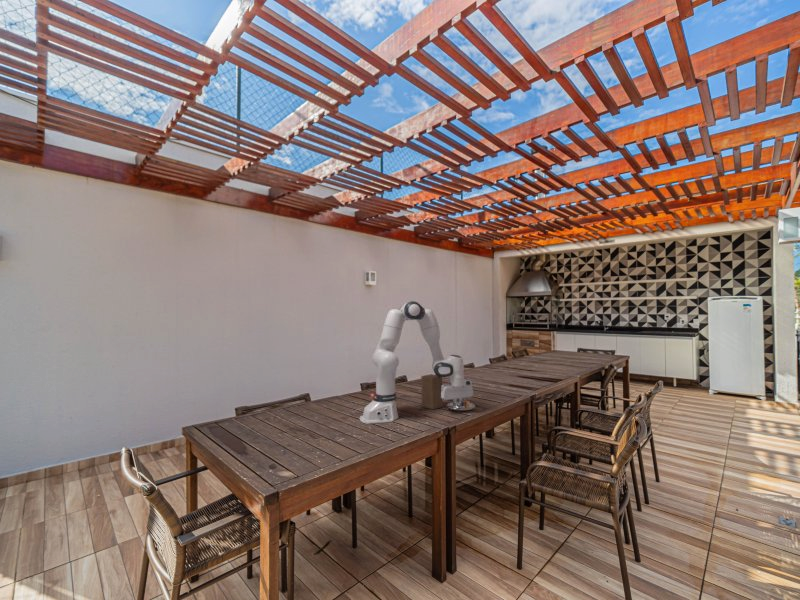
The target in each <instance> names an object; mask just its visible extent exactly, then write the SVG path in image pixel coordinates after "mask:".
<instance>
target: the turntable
mask: <svg viewBox="0 0 800 600" xmlns="http://www.w3.org/2000/svg"><path fill="white" fill-rule="evenodd" d="M446 408H447V409H450V410H453V411H471V410H473V409H475V408H476V405H475V403H472V402H470V401H469V400H466V401H465V406H455V405H453V401H452V402H448V403H447V405H446Z"/></svg>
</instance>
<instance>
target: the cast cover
mask: <svg viewBox="0 0 800 600" xmlns="http://www.w3.org/2000/svg"><path fill="white" fill-rule="evenodd" d="M458 400H459V399H458V398H457V399H456V402H458ZM465 401H467V397H464V398H462V400H461V402H460V406H465ZM452 402H453V405H455V403H454V401H453V400H452Z"/></svg>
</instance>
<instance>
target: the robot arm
mask: <svg viewBox="0 0 800 600" xmlns="http://www.w3.org/2000/svg"><path fill="white" fill-rule="evenodd" d="M384 320H385V321H384V322H383V327H382V331H381V335H380V339H379V341H378V343H377V346H376V348H375V351H374V352H373V354H372V357H371V359H372V362H373V364H374V366H376V367H377V368H378V370H377V371H378V372H377V377H376V379H375V388H376V389H375V390H376V391H375V394H374V393H371V394H370V397H371V398H372V401H370V403H368V404H367V405H366V406H365V407H364V409H363V413H362V415H360V416H359V421H360V422H362V423H364V424H366V425H367V424H369V425H370V424H381V423H392V422H394V421H395V420H397V419H399V418H400V417H399V414H398V410H397V392H396V374H397V369H398V366H399V365H400V360H399V357H398V355H397V354H395V352H394V351H395V349H396V348H397V346H398V344H399V342H400V338H401V336H402V330H403V328H404V327H403V325H404V323H405V321H416V322H417V323H418V325H419V329H420V332H421V335H422V336H423V337H422V338H423V340H424V341H425V342H426V343H427V345H428V347H429V349H430V353H431V356H432V371H433V372H434V375H436V376H438V377H442V378H447V377H448V378H449V379H448V382H447V383H442V386H441V398H442V399H443V400H444V401H448V400H452V402H453V401H454V403H455V406H460V402H461V400H462V398H464V397H465V398H471V397H473V395H474V389H473V385H472V384H473V382H472V381H471V380H468V379H466V378H465V376H464V371H465V368H464V367H465V366H464V359H463V357H461V356H460V355H458V354H450V355H449V356H447V357H446V358H444V355H443V352H442V349H441V344H440V338H441V330H440V327H439V323H438V320H437V317H436V315H435V313H434V311H433V310H432V309H430V308H424V307H423V306H422V305H421V304H420V303H419V302H417V301H415V300H411V301H406V302H405V303H404V304H402V305H401V306H400V307H399V309H398V308H397V309H396V308H392V309H389V311H388V312H387V315H386V317H385V319H384ZM457 398H458V399H459V400H458V402H456V399H457Z"/></svg>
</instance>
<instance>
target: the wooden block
mask: <svg viewBox="0 0 800 600" xmlns="http://www.w3.org/2000/svg"><path fill="white" fill-rule="evenodd" d="M420 383H421V385H420V386H421V390H420V394H421V407H422V408H424V409H425V408H426V409H429V410H431V411H432V410H436V409H440V408H442V407H443V406H444V405H443V399H442V398H441V386H442V385H443V377H438V376H436V374H433V373H432V374H431V373H430V374H425V375H421V376H420Z"/></svg>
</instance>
